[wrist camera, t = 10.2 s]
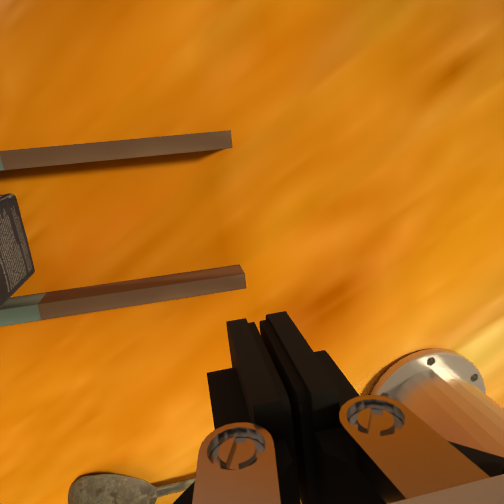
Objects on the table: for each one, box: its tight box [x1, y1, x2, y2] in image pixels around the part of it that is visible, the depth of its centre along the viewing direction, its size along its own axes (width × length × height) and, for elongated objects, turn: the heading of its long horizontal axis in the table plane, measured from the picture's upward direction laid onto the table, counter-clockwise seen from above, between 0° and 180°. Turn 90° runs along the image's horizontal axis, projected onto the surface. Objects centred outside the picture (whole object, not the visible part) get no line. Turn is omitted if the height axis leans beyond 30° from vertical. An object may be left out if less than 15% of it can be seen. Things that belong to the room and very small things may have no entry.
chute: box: [0, 130, 246, 326], centre depth 29 cm, size 12×27×3 cm, turn 95°
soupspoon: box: [68, 474, 195, 504], centre depth 38 cm, size 22×3×7 cm
